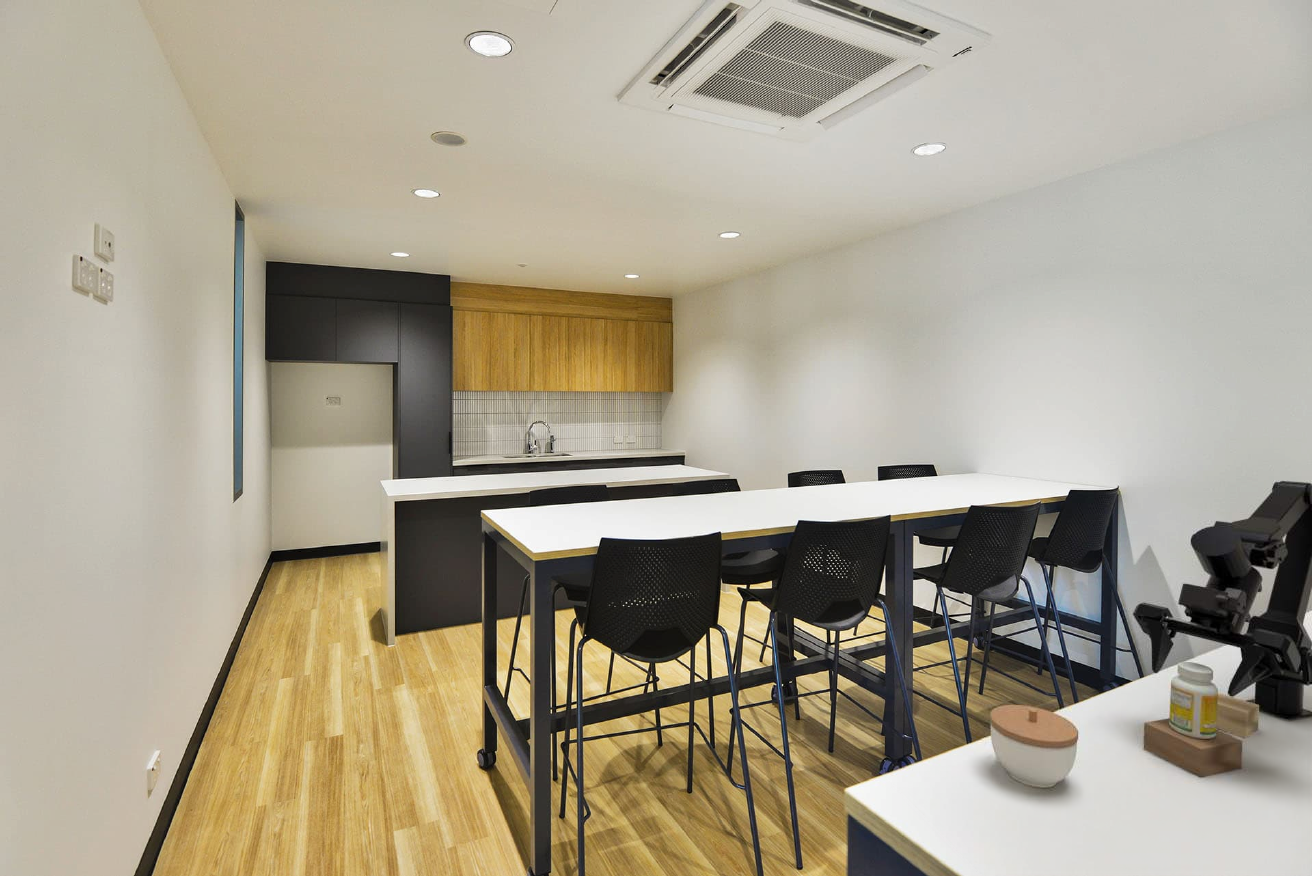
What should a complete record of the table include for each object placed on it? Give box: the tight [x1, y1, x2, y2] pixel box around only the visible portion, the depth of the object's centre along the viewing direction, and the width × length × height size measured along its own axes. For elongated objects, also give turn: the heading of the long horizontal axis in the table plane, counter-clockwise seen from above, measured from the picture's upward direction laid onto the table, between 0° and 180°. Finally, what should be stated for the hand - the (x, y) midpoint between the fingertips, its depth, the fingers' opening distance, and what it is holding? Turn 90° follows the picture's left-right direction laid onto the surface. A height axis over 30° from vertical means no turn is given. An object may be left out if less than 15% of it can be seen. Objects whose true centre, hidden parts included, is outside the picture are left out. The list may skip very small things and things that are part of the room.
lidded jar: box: [989, 704, 1079, 789], centre depth 92 cm, size 11×11×9 cm
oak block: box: [1216, 693, 1260, 739], centre depth 106 cm, size 5×5×4 cm
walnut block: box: [1143, 717, 1243, 778], centre depth 97 cm, size 8×8×4 cm
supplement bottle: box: [1168, 661, 1219, 739], centre depth 96 cm, size 5×5×10 cm
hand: (1190, 682), depth 96 cm, fingers open, 9 cm apart
